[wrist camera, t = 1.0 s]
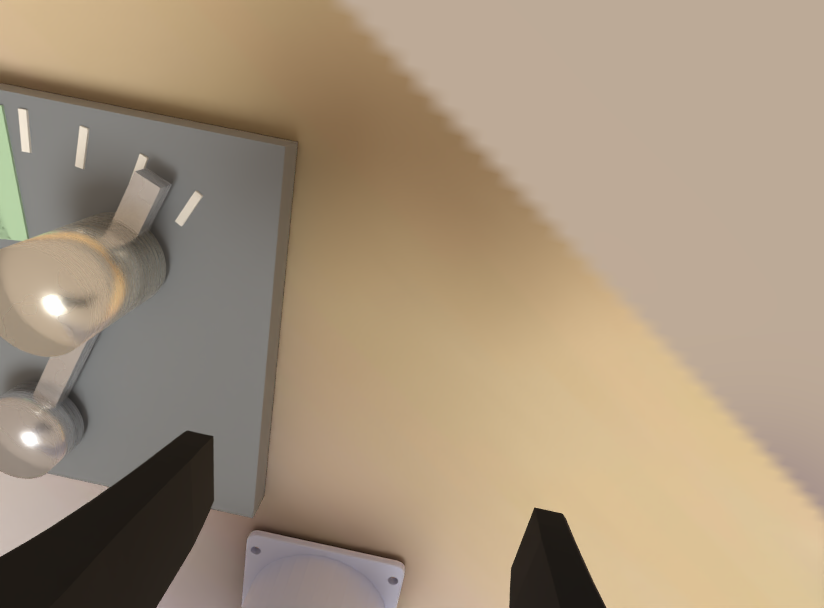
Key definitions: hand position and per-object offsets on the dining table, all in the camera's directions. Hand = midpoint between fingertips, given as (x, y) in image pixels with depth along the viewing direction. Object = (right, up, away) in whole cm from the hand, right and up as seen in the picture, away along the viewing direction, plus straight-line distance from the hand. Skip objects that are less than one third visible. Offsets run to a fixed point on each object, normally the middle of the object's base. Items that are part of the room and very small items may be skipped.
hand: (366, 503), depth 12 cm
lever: (-12, +4, +10) cm, 16 cm away
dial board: (-14, +5, +12) cm, 19 cm away
